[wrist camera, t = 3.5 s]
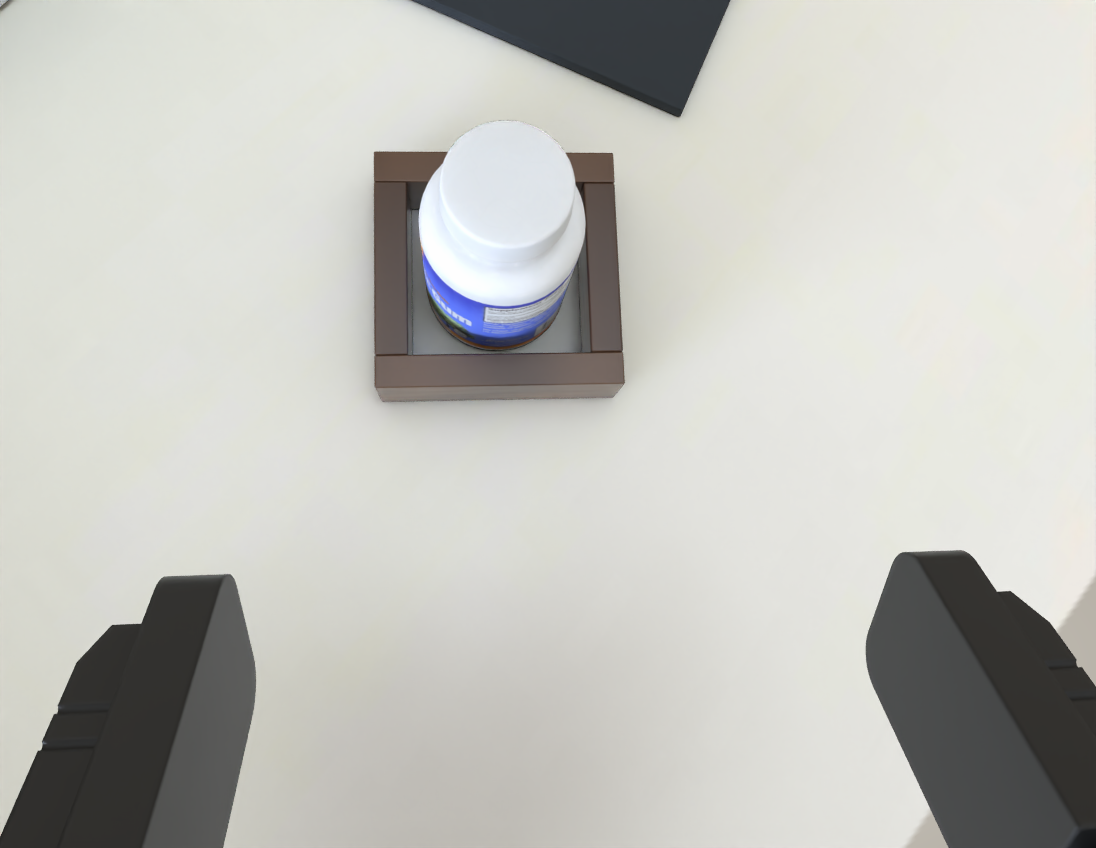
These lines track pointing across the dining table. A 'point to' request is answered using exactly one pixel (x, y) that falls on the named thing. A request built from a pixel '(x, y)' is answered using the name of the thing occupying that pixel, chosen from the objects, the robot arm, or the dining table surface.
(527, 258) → the pill bottle
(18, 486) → the dining table surface
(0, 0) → the light bulb box
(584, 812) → the dining table surface
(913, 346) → the dining table surface
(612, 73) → the rubber mat
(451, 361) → the walnut holder
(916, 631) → the robot arm
